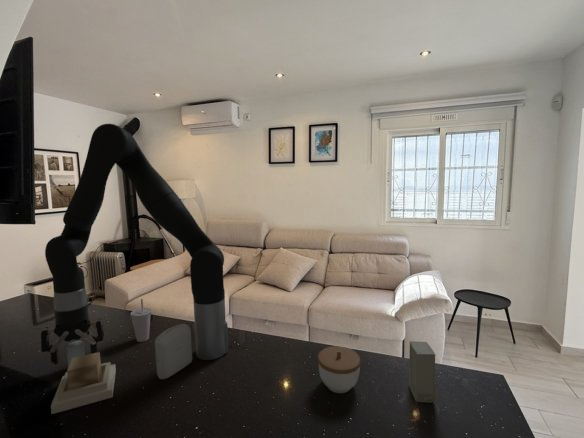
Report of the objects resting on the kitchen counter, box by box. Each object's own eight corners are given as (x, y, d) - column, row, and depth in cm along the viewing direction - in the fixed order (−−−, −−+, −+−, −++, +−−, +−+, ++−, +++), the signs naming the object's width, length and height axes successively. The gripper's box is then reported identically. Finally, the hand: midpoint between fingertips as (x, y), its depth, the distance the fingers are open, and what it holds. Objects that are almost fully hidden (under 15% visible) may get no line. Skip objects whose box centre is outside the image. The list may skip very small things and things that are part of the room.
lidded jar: (350, 370, 84) (351, 338, 83) (366, 396, 73) (367, 360, 72) (313, 374, 82) (313, 342, 81) (324, 402, 72) (324, 365, 71)
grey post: (86, 361, 89) (84, 339, 88) (84, 369, 85) (82, 345, 85) (70, 365, 87) (67, 342, 86) (67, 373, 84) (64, 349, 83)
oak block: (101, 373, 80) (99, 352, 80) (98, 386, 75) (96, 363, 74) (74, 379, 78) (72, 358, 77) (69, 394, 72) (67, 370, 72)
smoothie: (147, 344, 99) (144, 303, 97) (128, 344, 99) (125, 303, 97) (156, 334, 105) (154, 295, 103) (138, 334, 105) (135, 295, 104)
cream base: (115, 370, 85) (114, 358, 84) (112, 397, 74) (111, 384, 74) (63, 383, 79) (62, 371, 79) (51, 414, 69) (50, 400, 68)
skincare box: (434, 403, 71) (436, 355, 70) (415, 402, 71) (417, 354, 70) (425, 386, 77) (427, 341, 76) (407, 385, 78) (409, 340, 76)
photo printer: (164, 381, 80) (161, 337, 78) (154, 376, 82) (151, 333, 80) (194, 362, 88) (192, 322, 87) (184, 358, 91) (182, 318, 89)
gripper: (34, 314, 78) (40, 373, 80) (99, 305, 84) (103, 359, 86) (42, 304, 84) (47, 358, 86) (102, 296, 91) (105, 346, 93)
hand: (75, 359), depth 86 cm, fingers open, 8 cm apart
